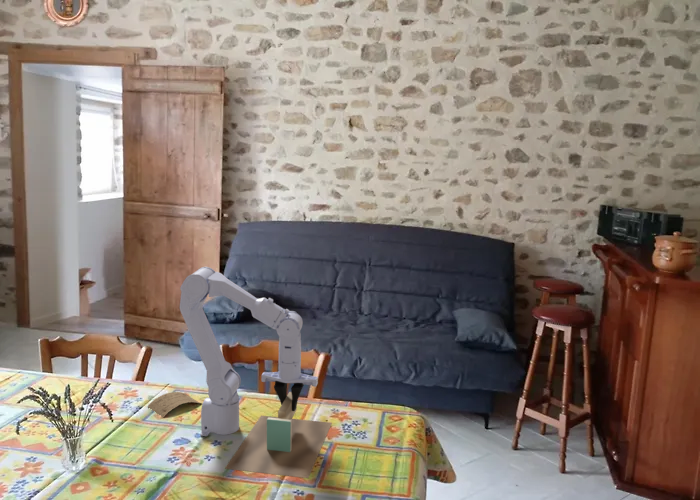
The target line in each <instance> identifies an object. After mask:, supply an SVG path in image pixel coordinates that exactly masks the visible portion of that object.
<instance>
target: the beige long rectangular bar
mask: <svg viewBox="0 0 700 500" xmlns="http://www.w3.org/2000/svg"><path fill="white" fill-rule="evenodd" d="M297 407H298V406H296V410H295V411H292V392H291V391H289V392H287V397H286V398H285V400H284V402H283V404H282V405H281V404H280V407H279V409H278V410H277V417H278V418H280V419H290V420H292V419H294V418H293V417H294V416H295V414H296V412H297V410H298V408H297Z"/></svg>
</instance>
